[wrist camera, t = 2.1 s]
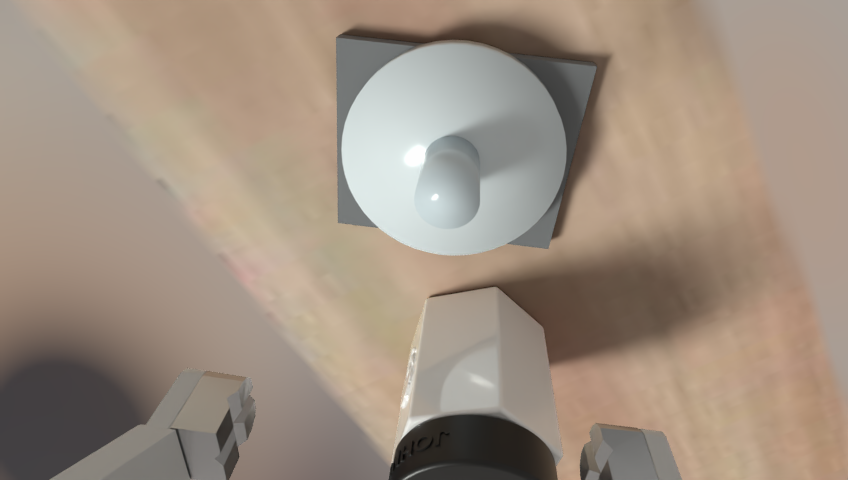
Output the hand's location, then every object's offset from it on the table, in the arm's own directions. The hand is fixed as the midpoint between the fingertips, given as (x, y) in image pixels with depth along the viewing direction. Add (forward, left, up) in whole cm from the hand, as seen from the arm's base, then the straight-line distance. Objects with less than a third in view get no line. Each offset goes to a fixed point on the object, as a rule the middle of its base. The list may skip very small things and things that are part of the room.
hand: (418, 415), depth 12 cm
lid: (0, 0, -16) cm, 16 cm away
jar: (-3, +13, -17) cm, 22 cm away
